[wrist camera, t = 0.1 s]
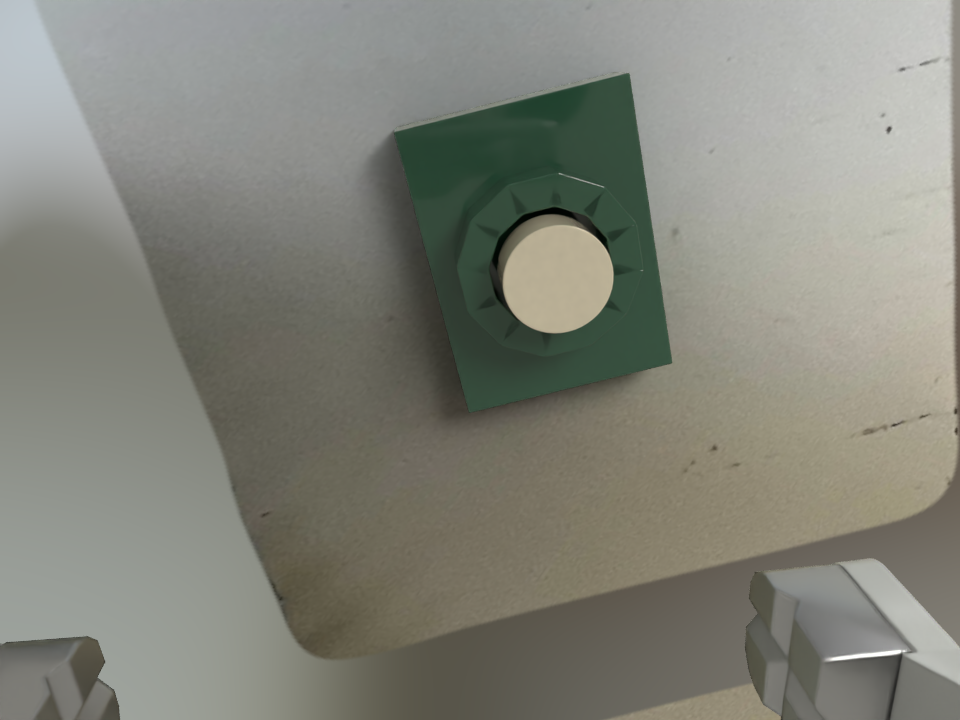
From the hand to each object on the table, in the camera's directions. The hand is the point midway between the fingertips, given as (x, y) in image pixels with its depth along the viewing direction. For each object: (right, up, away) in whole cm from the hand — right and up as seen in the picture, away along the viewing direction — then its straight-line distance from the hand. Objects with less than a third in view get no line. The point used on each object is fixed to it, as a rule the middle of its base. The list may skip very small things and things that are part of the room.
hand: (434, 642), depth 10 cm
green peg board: (+3, +8, +23) cm, 24 cm away
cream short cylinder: (+3, +7, +19) cm, 21 cm away
